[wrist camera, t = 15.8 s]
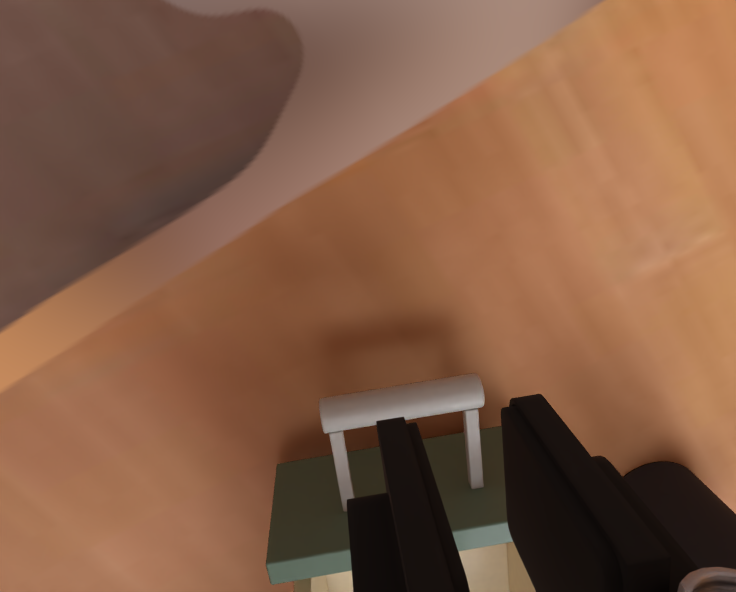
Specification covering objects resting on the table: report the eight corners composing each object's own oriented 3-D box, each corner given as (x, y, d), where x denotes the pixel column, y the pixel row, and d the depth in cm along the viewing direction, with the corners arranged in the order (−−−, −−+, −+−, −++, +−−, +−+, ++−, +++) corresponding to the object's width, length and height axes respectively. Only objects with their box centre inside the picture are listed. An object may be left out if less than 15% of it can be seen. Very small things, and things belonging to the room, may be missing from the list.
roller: (604, 548, 34) (699, 693, 26) (605, 470, 32) (710, 599, 24) (695, 531, 34) (819, 670, 26) (702, 453, 32) (839, 575, 24)
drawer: (254, 367, 27) (235, 448, 20) (516, 325, 27) (577, 391, 21) (330, 698, 35) (333, 830, 28) (530, 660, 35) (578, 781, 29)
